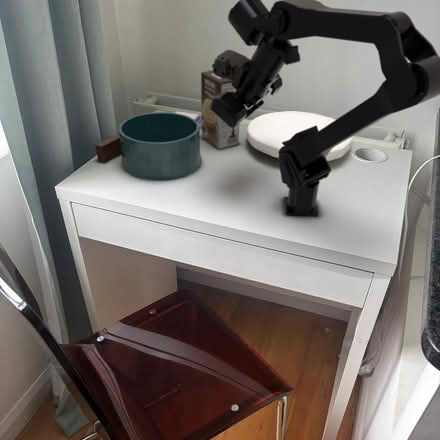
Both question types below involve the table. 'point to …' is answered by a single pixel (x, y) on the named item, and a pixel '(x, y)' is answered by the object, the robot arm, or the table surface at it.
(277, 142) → the plate
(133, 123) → the bowl
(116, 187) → the table surface
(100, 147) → the back rail
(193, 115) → the smartphone
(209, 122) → the coffee box
